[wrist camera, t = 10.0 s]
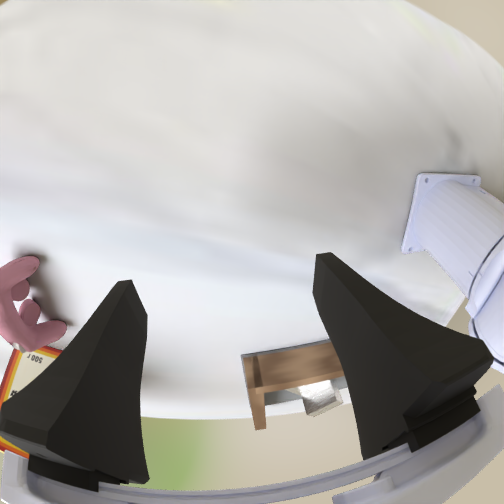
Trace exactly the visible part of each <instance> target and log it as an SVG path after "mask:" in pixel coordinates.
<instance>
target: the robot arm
mask: <svg viewBox="0 0 504 504" xmlns="http://www.w3.org/2000/svg"><path fill="white" fill-rule="evenodd" d="M426 178H427V179H426ZM425 179H426V180H425ZM480 184H481V177H480V176H478V175H463V174H440V173H420V174H419V175H418V176H417V179H416V184H415V190H414V195H413V200H412V205H411V209H410V214H409V218H408V223H407V227H406V231H405V235H404V239H403V243H402V246H401V252H402V253H403V254H408V253H414V252H419V251H425V250H426V251H427V252H428V253H429V254H430V255H431V256H432V257H433V259H434V260H435V261H436V262H437V263H438V264H439V265H440V266H441V267H442V269H443V270H444V271H445V272H446V273H447V274H448V276H449V277H450V278H451V279H452V280H453V281H454V283H455V284H456V285H457V286H458V287H459V289H460V290H461V291H462V292H463V294H464V295H465V296H466V297H467V298H468V300H469V302H468V304H467V306H466V307H465V309H466V310H467V312H468V313H469V314H470V316H471V318H470V321H469V334H470V336H469V335H465V334H462V333H459V332H456V331H454V330H451V329H449V328H446V327H444V326H442V325H439V324H437V323H435V322H433V321H431V320H429V319H427V318H425V317H423V316H421V315H419V314H417V313H415V312H413V311H412V310H410V309H408V308H407V307H405V306H403V305H402V304H400V303H398V302H397V301H395V300H394V299H392V298H390V297H389V296H388V295H386V294H385V293H383V292H382V291H380V290H379V289H378V288H376V287H375V286H373V285H372V284H371V283H369V282H368V281H367V280H366V279H364V278H363V277H362V276H360V275H359V274H358V273H357V272H355V271H354V270H353V269H352V268H350V267H349V266H348V265H347V264H345V263H344V262H343V261H342V260H340V259H339V258H338V257H337V256H335V255H334V254H333V253H331V252H328V253H322V254H316V262H315V273H314V283H313V296H314V299H315V303H316V306H317V309H318V312H319V315H320V317H321V320H322V322H323V324H324V326H325V329H326V331H327V333H328V335H329V338H330V340H331V342H332V344H333V347H334V349H335V351H336V353H337V356H338V358H339V361H340V363H341V366H342V369H343V372H344V375H345V379H346V382H347V386H348V389H349V393H350V397H351V401H352V405H353V409H354V414H355V418H356V423H357V428H358V434H359V440H360V446H361V454H362V457H363V460H364V461H361V462H359V463H356V464H353V465H350V466H346V467H343V468H340V469H337V470H333V471H330V472H326V473H323V474H319V475H315V476H311V477H307V478H302V479H298V480H293V481H288V482H282V483H277V484H271V485H264V486H257V487H248V488H239V489H227V490H207V491H178V490H177V491H176V490H158V489H146V488H137V487H128V486H121V485H120V483H123V484H129V483H137V484H145V483H146V482H148V480H149V479H150V478H149V475H148V470H147V465H146V460H145V454H144V447H143V439H142V430H141V416H140V386H141V377H142V369H143V362H144V355H145V348H146V341H147V316H148V315H147V313H146V311H145V309H144V307H143V305H142V302H141V300H140V298H139V296H138V293H137V291H136V289H135V286H134V284H133V282H132V280H125V281H118V282H117V283H116V284H115V286H114V287H113V288H112V289H111V291H110V292H109V293H108V295H107V296H106V297H105V299H104V300H103V301H102V303H101V304H100V305H99V307H98V308H97V309H96V311H95V312H94V313H93V315H92V316H91V317H90V319H89V320H88V321H87V322H86V324H85V325H84V326H83V327H82V329H81V330H80V331H79V333H78V334H77V335H76V336H75V338H74V339H73V340H72V341H71V342H70V344H69V345H68V346H67V347H66V348H65V349H64V350H63V351H62V353H61V354H60V355H59V356H58V357H57V358H56V359H55V360H54V361H53V362H52V363H51V364H50V365H49V366H48V367H47V368H46V369H45V370H44V371H43V372H42V373H41V374H39V375H38V376H37V377H36V378H35V379H34V380H33V381H31V382H30V383H29V384H28V385H27V386H25V387H24V388H23V389H21V390H20V391H19V392H17V393H16V394H15V395H13V396H12V397H10V398H9V399H7V400H6V401H4V402H3V403H2V405H1V409H0V436H1V437H2V438H3V439H5V440H6V441H8V442H10V443H11V444H13V445H15V446H16V447H18V448H20V449H21V450H23V451H25V452H27V453H29V459H27V458H24V457H22V456H20V455H17V454H15V453H13V452H10V451H8V450H5V452H4V459H3V468H2V478H1V479H2V480H1V500H2V501H4V502H5V503H7V504H266V503H272V502H279V501H284V500H289V499H295V498H299V497H304V496H308V495H312V494H316V493H320V492H324V491H327V490H331V489H335V488H338V487H341V486H345V485H348V484H351V483H354V482H357V481H359V480H362V479H365V478H367V477H370V476H372V475H375V474H377V475H376V476H375V477H374V480H373V482H372V483H370V484H367V485H364V486H361V487H358V488H355V489H353V490H349V491H347V492H343V493H340V494H337V495H334V496H333V497H332V500H333V504H442V503H444V502H445V501H446V500H448V499H449V498H450V497H451V496H453V495H454V494H455V493H456V492H458V491H459V490H460V489H461V488H462V487H464V486H465V485H466V484H467V483H468V482H469V481H470V480H472V479H473V478H474V477H475V476H476V475H477V474H478V473H479V472H480V471H481V470H482V469H483V468H484V467H485V466H486V465H487V464H488V463H490V462H491V461H492V460H493V459H494V458H495V457H496V456H497V455H498V454H499V453H500V452H501V451H502V449H504V392H503V390H502V388H501V386H500V385H499V384H498V385H496V386H495V387H494V388H492V389H491V390H490V391H488V392H487V393H486V394H484V395H483V396H482V397H480V398H479V399H478V400H475V398H474V395H475V394H476V392H477V391H476V389H475V387H474V384H475V383H476V382H477V381H478V380H479V379H480V378H481V377H482V376H483V375H484V374H485V373H486V372H487V370H488V369H489V368H490V367H491V368H493V369H496V370H498V371H500V372H501V373H503V374H504V203H502V202H501V201H500V200H498V199H497V198H495V197H494V196H493V195H491V194H490V193H488V192H487V191H486V190H484V189H483V188H481V187H480Z"/></svg>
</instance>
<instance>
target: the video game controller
mask: <svg viewBox="0 0 504 504" xmlns="http://www.w3.org/2000/svg"><path fill="white" fill-rule="evenodd" d="M39 264H40V262H39V260H38V258H37V257H34V256H25V257H21V258H18V259H15V260H13V261H11V262H9V263H7V264H6V265H4V266H2V267H1V268H0V335H1V336H2V337H3V338H4V339H5V340H6V341H7V342H8V343H10V344H11V345H12V346H13V347H14V348H15V349H17V350H20V352H21V353H25V352H26V351H27V352H33V351H35V350H37V349H39V348H41V347H43V346H45V345H48V344H50V343H53V342H55V341H57V340H59V339H60V338H61V337H62V336H63V335H64V334H65V332H66V330H67V326H66V324H65V323H64V322H62V321H58V320H54V321H47V322H43V323H39V324H37V321H38V319H39V317H40V314H41V309H40V307H39V305H38V304H37V303H35V302H34V301H33V300H31V299H26V300H25V301H24V302H23V303H22V304H21V306H20V309H19V313H18V312H17V310H16V308H15V306H14V303H13V301H22V300H24V299H25V298H26V297H27V296H28V294H29V290H30V286H29V283H28V281H27V280H26V278H28V277H30V276H31V275H32V274H33V273H34V272H35V271H36V270H37V269H38V267H39Z"/></svg>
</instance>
